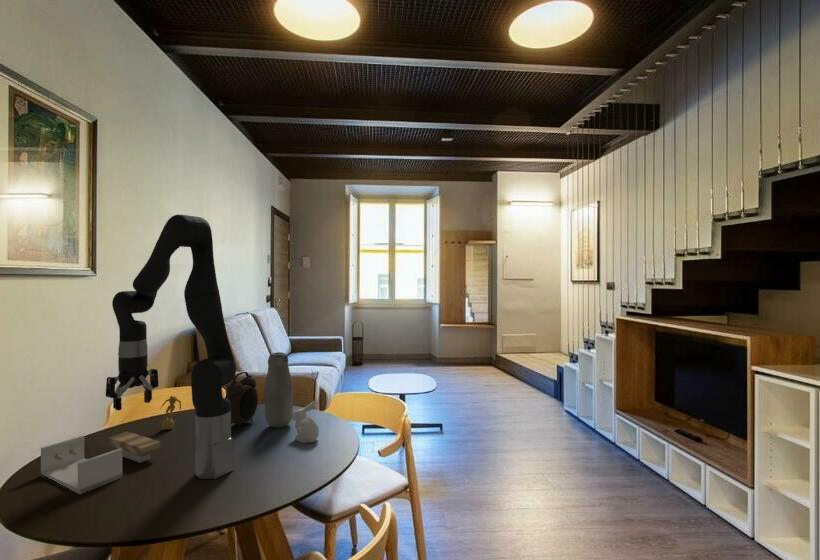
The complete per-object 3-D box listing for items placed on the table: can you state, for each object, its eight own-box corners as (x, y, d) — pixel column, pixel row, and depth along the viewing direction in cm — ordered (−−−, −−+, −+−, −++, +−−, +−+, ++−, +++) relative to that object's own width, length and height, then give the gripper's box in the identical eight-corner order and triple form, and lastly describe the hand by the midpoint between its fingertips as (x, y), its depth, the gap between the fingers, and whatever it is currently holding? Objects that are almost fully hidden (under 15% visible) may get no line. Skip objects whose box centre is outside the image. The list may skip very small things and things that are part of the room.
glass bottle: (295, 421, 157) (295, 350, 157) (288, 431, 147) (288, 355, 147) (269, 421, 157) (269, 350, 157) (261, 431, 147) (260, 355, 147)
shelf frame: (122, 477, 113) (122, 449, 113) (80, 494, 104) (80, 463, 104) (82, 461, 123) (82, 435, 123) (40, 475, 114) (40, 447, 114)
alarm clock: (238, 432, 146) (238, 377, 146) (221, 431, 147) (221, 376, 147) (261, 418, 160) (261, 368, 160) (245, 417, 162) (244, 368, 162)
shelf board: (160, 449, 124) (160, 441, 124) (141, 456, 119) (141, 448, 119) (127, 439, 133) (127, 431, 132) (108, 445, 128) (108, 437, 128)
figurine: (153, 430, 148) (153, 398, 148) (165, 425, 154) (165, 393, 154) (174, 431, 147) (174, 399, 147) (185, 426, 153) (185, 394, 153)
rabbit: (289, 436, 142) (289, 403, 142) (314, 430, 148) (313, 397, 148) (304, 447, 132) (304, 411, 132) (329, 440, 138) (329, 405, 138)
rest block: (150, 458, 125) (150, 449, 125) (140, 462, 122) (140, 453, 122) (128, 451, 130) (128, 442, 130) (118, 455, 127) (118, 445, 127)
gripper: (114, 359, 118) (114, 414, 118) (163, 351, 130) (163, 401, 130) (100, 357, 121) (100, 411, 121) (149, 349, 134) (149, 398, 134)
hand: (133, 406), depth 126 cm, fingers open, 8 cm apart
